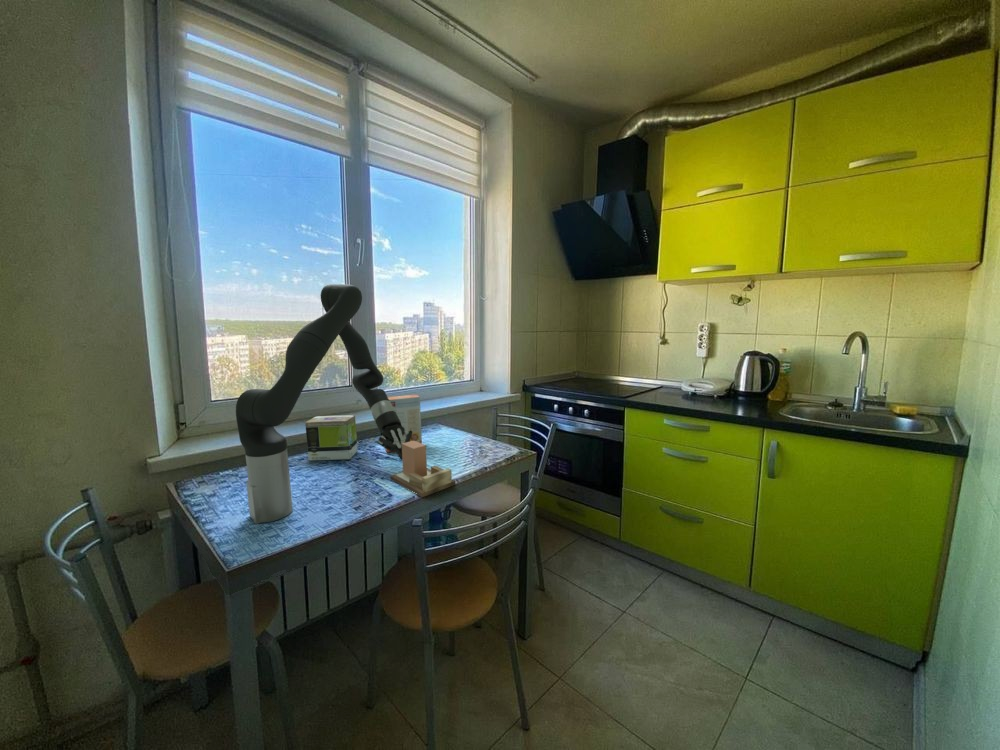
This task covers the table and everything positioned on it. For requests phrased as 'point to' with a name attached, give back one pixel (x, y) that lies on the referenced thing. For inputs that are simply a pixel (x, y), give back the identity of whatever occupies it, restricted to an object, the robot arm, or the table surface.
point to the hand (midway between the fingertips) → (405, 459)
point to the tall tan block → (414, 458)
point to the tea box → (331, 437)
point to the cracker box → (408, 415)
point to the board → (412, 488)
